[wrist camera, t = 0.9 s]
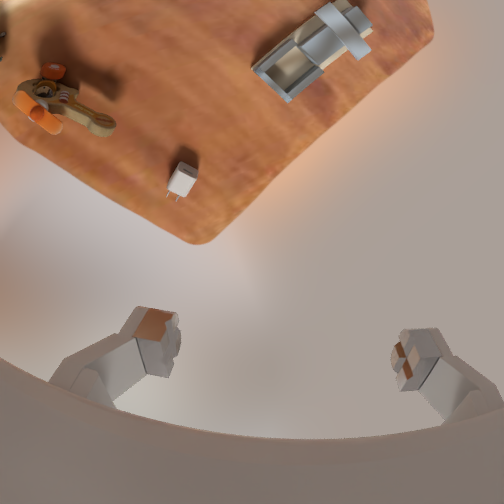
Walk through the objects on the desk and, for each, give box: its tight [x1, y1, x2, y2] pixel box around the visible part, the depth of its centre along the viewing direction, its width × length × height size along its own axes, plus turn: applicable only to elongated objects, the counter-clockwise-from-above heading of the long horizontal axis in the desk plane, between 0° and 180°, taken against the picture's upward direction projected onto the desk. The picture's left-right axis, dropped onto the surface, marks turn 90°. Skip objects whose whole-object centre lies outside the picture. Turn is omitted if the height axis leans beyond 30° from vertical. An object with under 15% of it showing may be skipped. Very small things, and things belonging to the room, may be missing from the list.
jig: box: [251, 0, 373, 103], centre depth 35 cm, size 10×21×6 cm, turn 135°
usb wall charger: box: [166, 162, 198, 201], centre depth 51 cm, size 4×7×4 cm, turn 145°
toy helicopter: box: [12, 62, 116, 137], centre depth 33 cm, size 8×21×14 cm, turn 52°
